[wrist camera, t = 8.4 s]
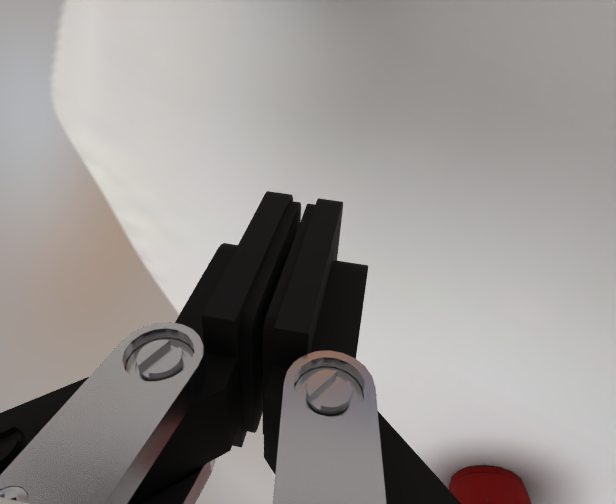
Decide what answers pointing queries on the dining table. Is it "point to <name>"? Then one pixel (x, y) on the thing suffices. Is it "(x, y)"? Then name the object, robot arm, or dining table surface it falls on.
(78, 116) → the dining table surface
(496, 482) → the plastic cup
